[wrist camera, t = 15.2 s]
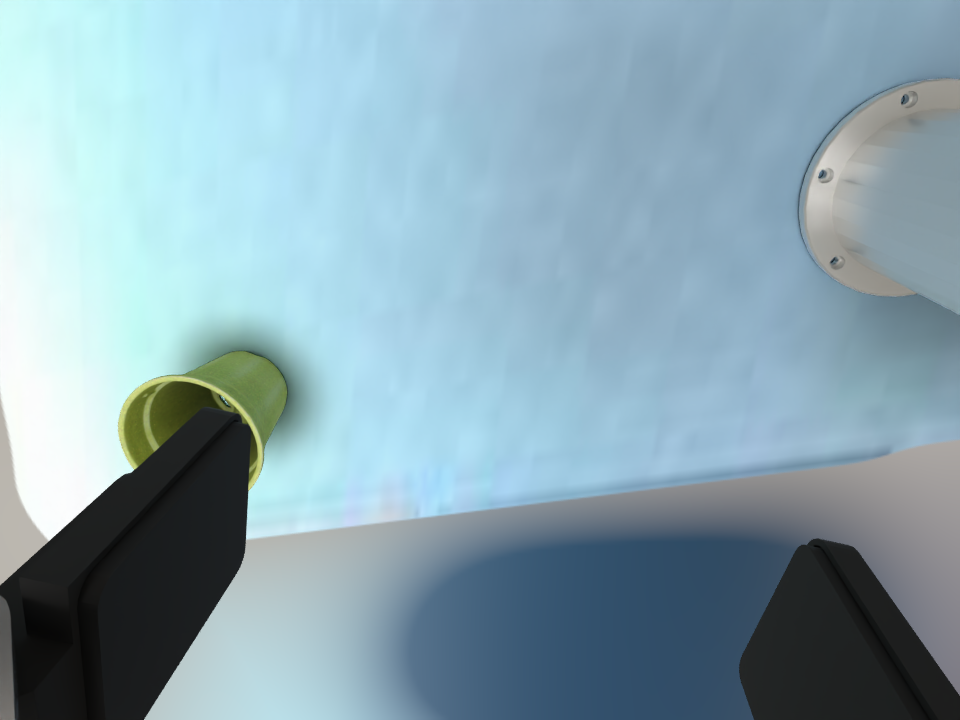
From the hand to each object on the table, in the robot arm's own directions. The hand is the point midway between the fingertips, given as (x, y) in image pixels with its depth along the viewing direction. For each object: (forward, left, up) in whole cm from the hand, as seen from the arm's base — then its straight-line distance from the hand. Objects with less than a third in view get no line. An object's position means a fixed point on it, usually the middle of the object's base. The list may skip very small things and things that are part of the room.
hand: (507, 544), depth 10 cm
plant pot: (+18, +17, -32) cm, 41 cm away
